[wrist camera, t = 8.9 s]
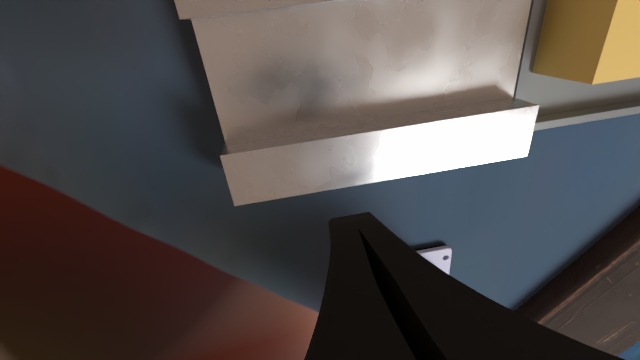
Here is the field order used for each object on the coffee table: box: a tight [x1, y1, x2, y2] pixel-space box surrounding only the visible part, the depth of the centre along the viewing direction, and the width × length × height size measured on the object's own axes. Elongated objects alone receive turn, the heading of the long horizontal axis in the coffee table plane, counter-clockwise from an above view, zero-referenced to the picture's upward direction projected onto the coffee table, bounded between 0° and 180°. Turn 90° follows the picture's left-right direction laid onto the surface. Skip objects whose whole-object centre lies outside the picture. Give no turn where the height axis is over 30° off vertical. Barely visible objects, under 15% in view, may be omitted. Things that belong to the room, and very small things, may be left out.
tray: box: [513, 0, 640, 131], centre depth 18 cm, size 11×12×1 cm
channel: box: [174, 0, 539, 206], centre depth 16 cm, size 12×17×4 cm
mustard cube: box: [532, 0, 640, 85], centre depth 16 cm, size 4×4×4 cm
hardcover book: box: [516, 207, 640, 356], centre depth 31 cm, size 16×23×2 cm
